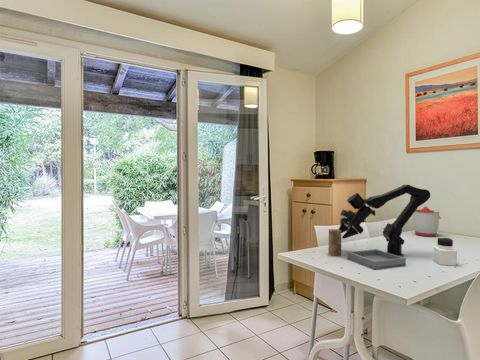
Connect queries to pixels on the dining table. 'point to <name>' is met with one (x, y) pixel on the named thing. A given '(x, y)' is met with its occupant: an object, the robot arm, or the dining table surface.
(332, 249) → the walnut block
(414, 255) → the dining table surface
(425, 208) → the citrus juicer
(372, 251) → the tray
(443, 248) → the medicine bottle
